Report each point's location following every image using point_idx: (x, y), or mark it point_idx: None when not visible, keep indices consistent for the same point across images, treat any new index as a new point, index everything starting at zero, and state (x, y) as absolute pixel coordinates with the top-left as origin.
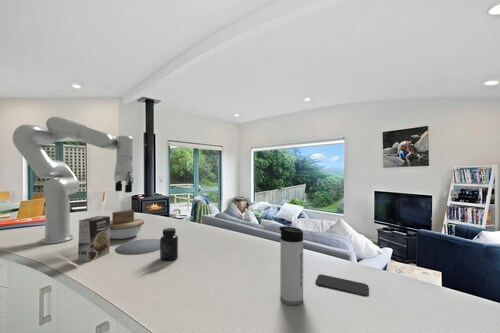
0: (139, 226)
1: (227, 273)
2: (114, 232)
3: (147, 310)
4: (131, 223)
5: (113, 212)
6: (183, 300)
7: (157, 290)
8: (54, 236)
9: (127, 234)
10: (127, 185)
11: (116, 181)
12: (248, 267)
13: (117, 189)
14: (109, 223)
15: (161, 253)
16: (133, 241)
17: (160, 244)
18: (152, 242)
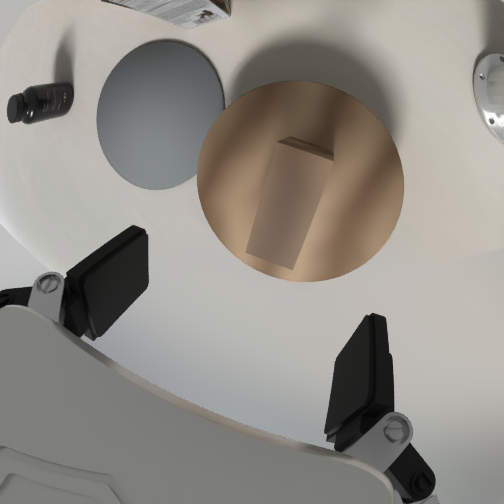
0: None
1: None
2: None
3: (32, 13)
4: (238, 185)
5: (319, 156)
6: (19, 45)
7: (37, 33)
8: (501, 66)
9: None
10: (74, 284)
11: (371, 447)
12: (6, 145)
13: (360, 340)
14: (120, 4)
15: (53, 83)
16: None
17: (41, 85)
18: (148, 154)
